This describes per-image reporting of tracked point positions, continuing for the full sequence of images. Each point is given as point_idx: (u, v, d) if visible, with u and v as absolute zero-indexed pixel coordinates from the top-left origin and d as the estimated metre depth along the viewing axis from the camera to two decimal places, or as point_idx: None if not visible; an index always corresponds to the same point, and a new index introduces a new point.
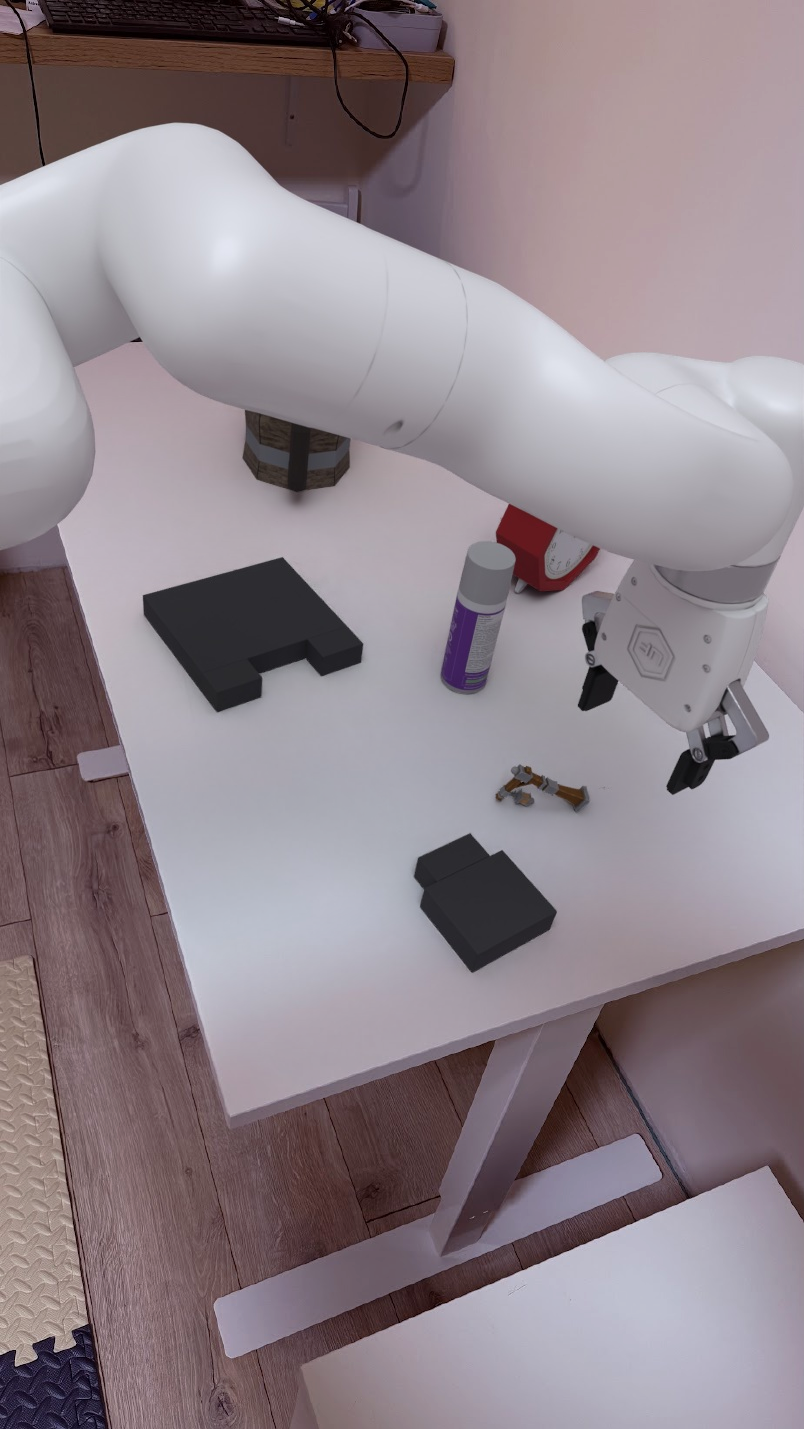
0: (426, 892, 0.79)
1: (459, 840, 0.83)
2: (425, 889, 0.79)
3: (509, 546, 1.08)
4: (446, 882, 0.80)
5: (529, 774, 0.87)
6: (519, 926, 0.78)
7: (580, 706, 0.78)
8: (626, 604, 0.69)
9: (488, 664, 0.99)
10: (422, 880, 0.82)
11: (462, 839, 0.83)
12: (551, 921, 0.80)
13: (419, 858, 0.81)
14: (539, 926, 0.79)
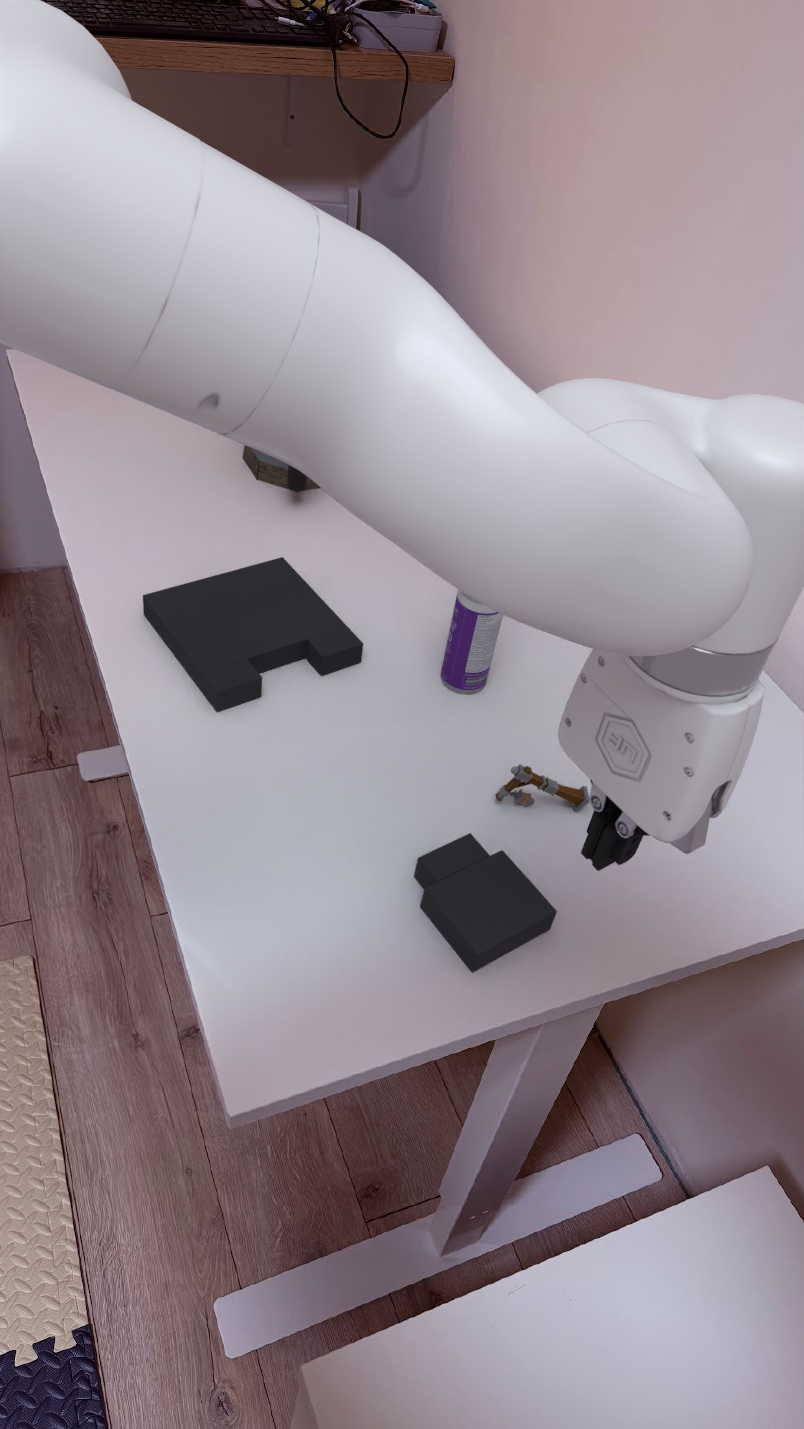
0: (426, 892, 0.79)
1: (459, 840, 0.83)
2: (425, 889, 0.79)
3: None
4: (446, 882, 0.80)
5: (529, 774, 0.87)
6: (519, 926, 0.78)
7: (584, 854, 0.65)
8: (593, 687, 0.57)
9: (488, 664, 0.99)
10: (422, 880, 0.82)
11: (462, 839, 0.83)
12: (551, 921, 0.80)
13: (419, 858, 0.81)
14: (539, 926, 0.79)
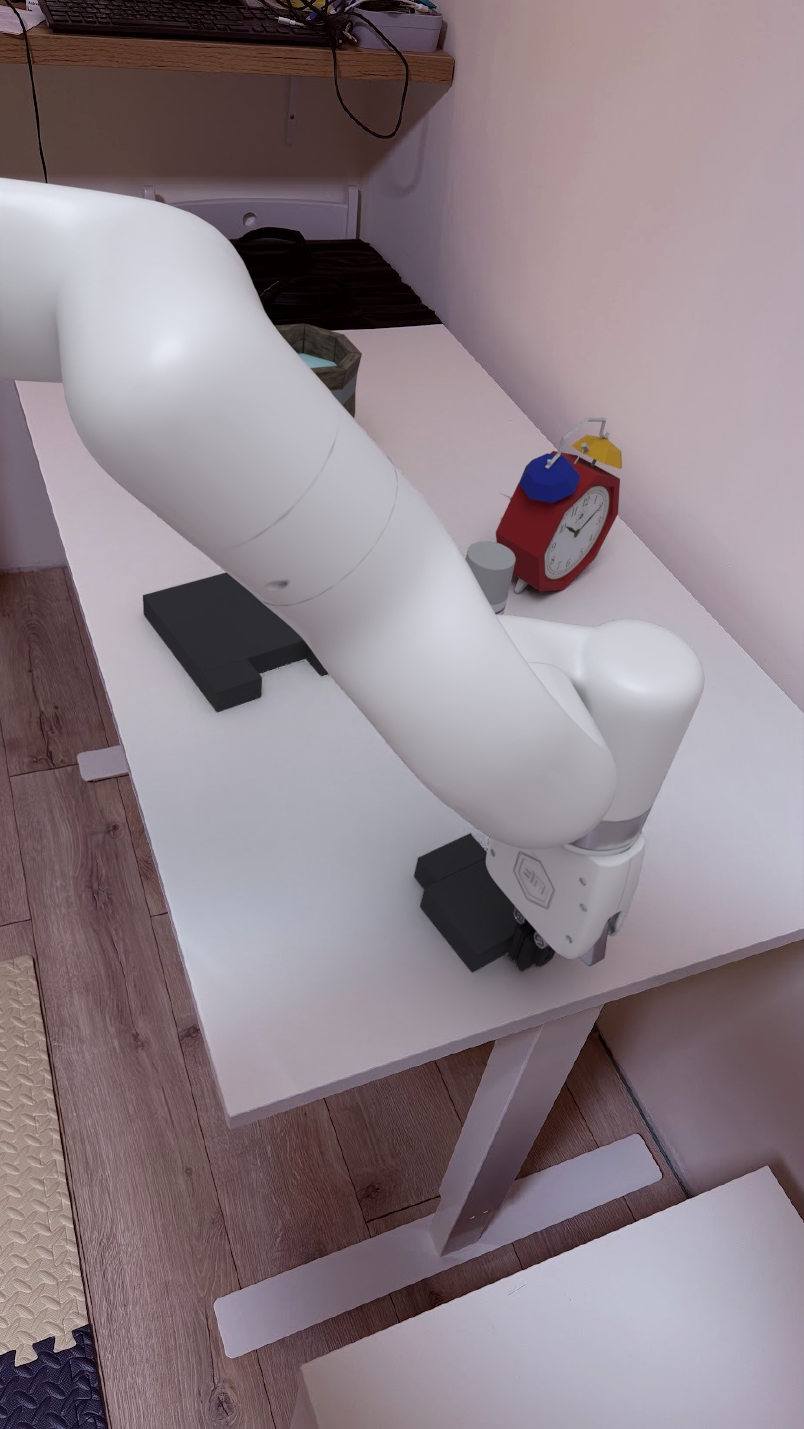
0: (426, 892, 0.79)
1: (459, 840, 0.83)
2: (425, 889, 0.79)
3: (509, 546, 1.08)
4: (446, 882, 0.80)
5: None
6: None
7: (510, 956, 0.76)
8: None
9: None
10: (422, 880, 0.82)
11: (462, 839, 0.83)
12: None
13: (419, 858, 0.81)
14: None
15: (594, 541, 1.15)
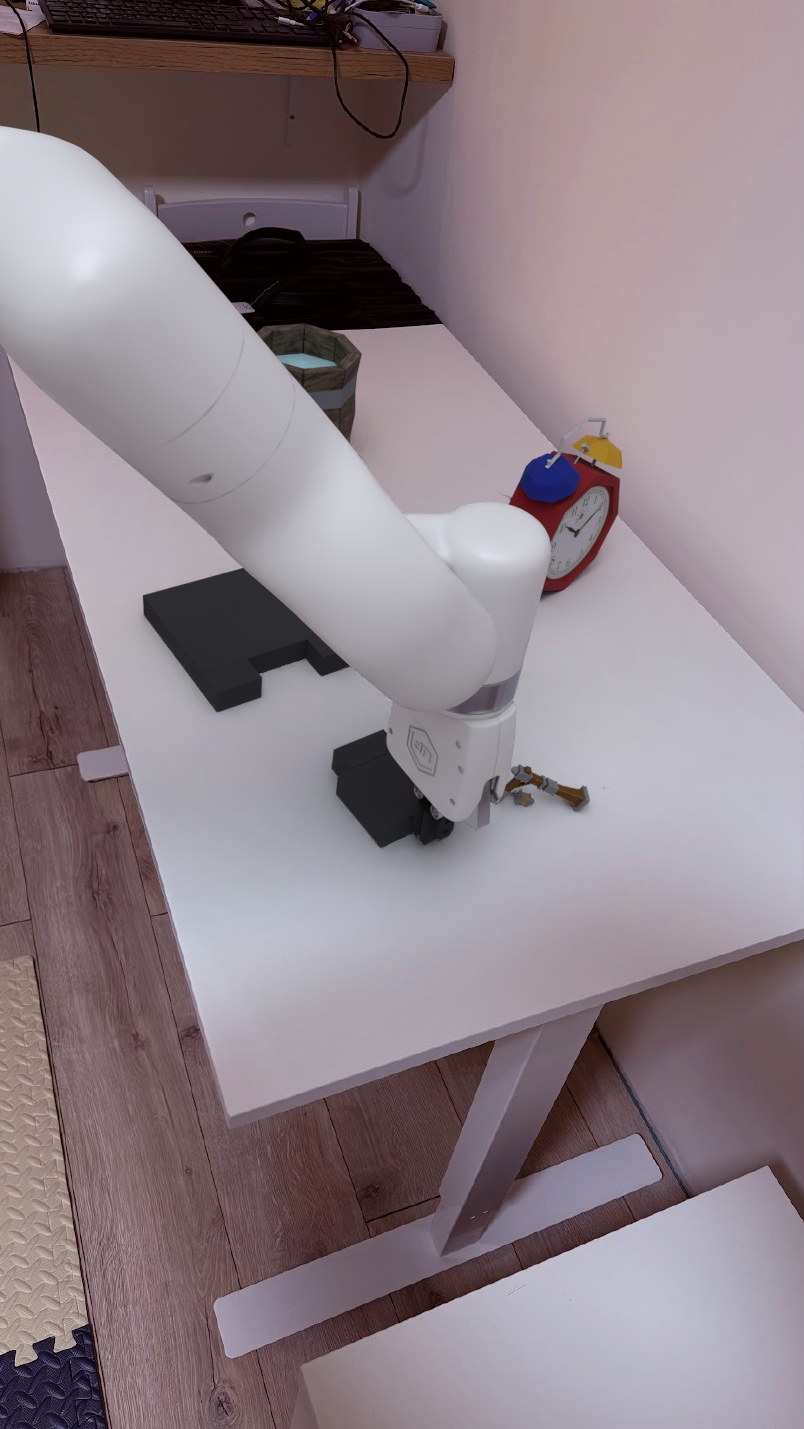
0: (339, 778, 0.87)
1: (373, 735, 0.91)
2: (339, 775, 0.87)
3: None
4: (358, 769, 0.87)
5: (529, 774, 0.87)
6: None
7: (414, 832, 0.84)
8: (402, 706, 0.76)
9: None
10: (338, 770, 0.89)
11: (375, 734, 0.91)
12: None
13: (335, 749, 0.89)
14: None
15: (594, 541, 1.15)
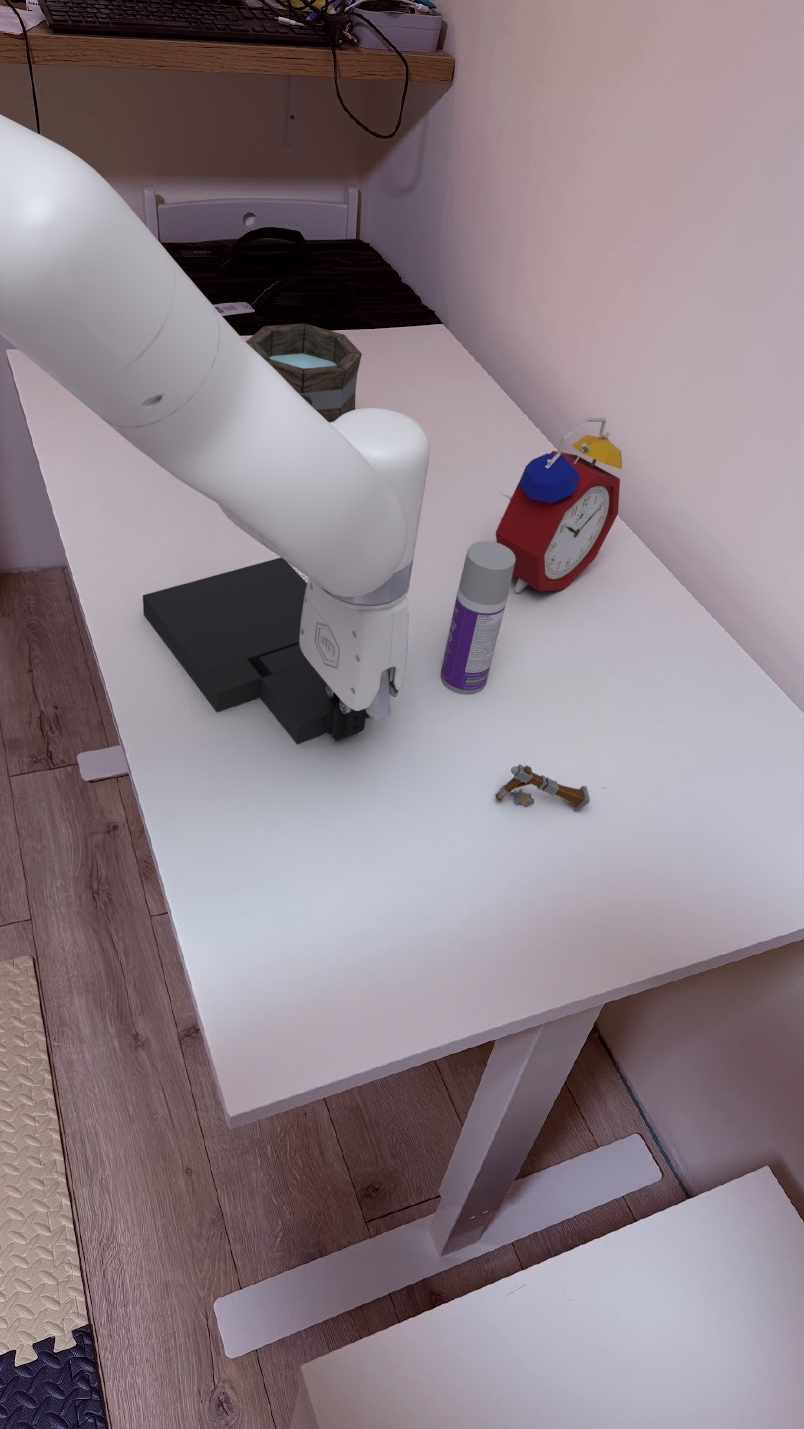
0: (262, 681, 0.94)
1: (297, 646, 0.98)
2: (261, 679, 0.94)
3: (509, 546, 1.08)
4: (280, 675, 0.95)
5: (529, 774, 0.87)
6: None
7: (327, 729, 0.92)
8: (309, 605, 0.84)
9: (488, 664, 0.99)
10: (264, 677, 0.97)
11: None
12: None
13: (260, 657, 0.96)
14: None
15: (594, 541, 1.15)
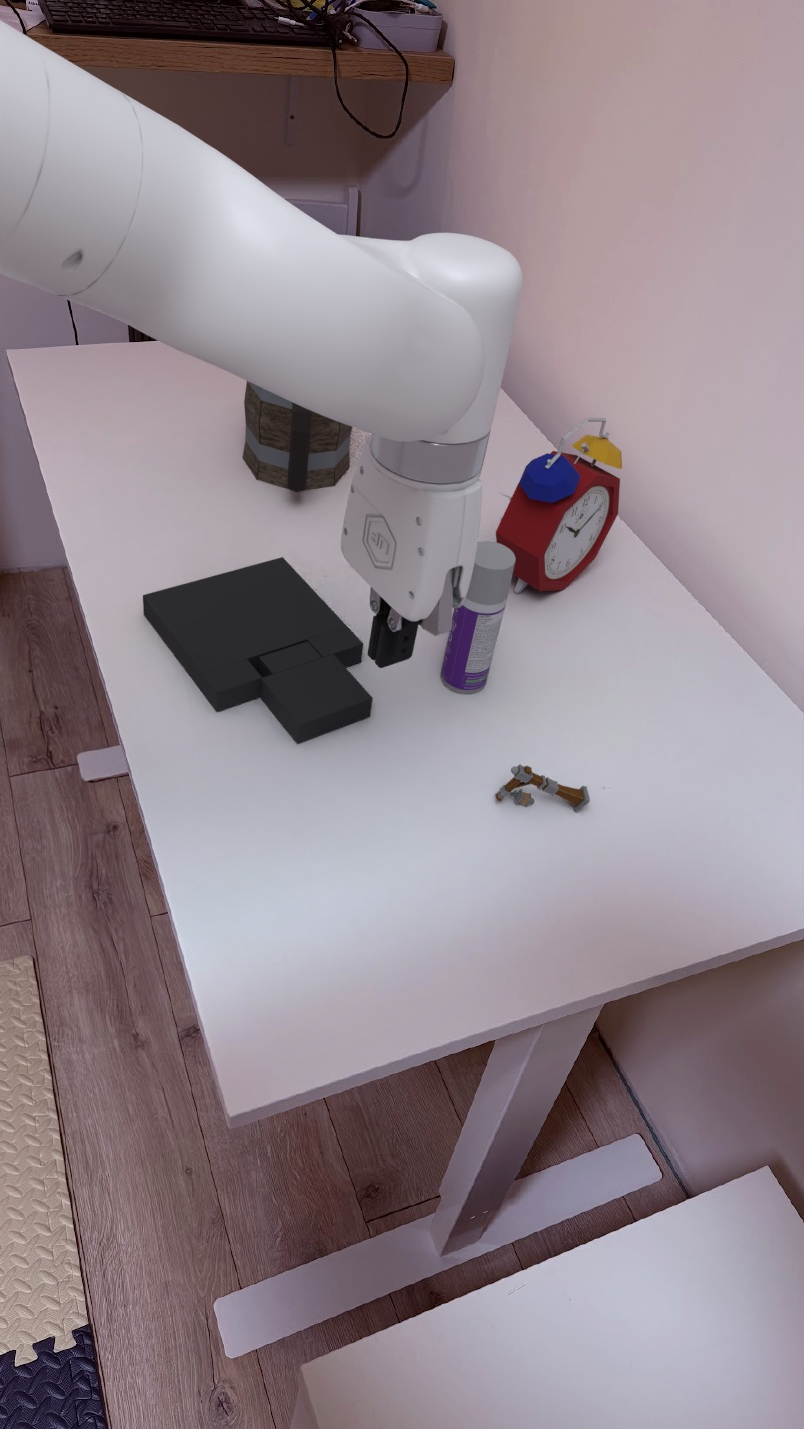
0: (262, 681, 0.94)
1: (297, 646, 0.98)
2: (261, 679, 0.94)
3: (509, 546, 1.08)
4: (280, 674, 0.95)
5: (529, 774, 0.87)
6: (338, 707, 0.93)
7: (369, 654, 0.78)
8: (358, 495, 0.70)
9: (488, 664, 0.99)
10: (264, 677, 0.97)
11: (300, 645, 0.98)
12: (369, 707, 0.95)
13: (260, 657, 0.96)
14: (357, 710, 0.94)
15: (594, 541, 1.15)
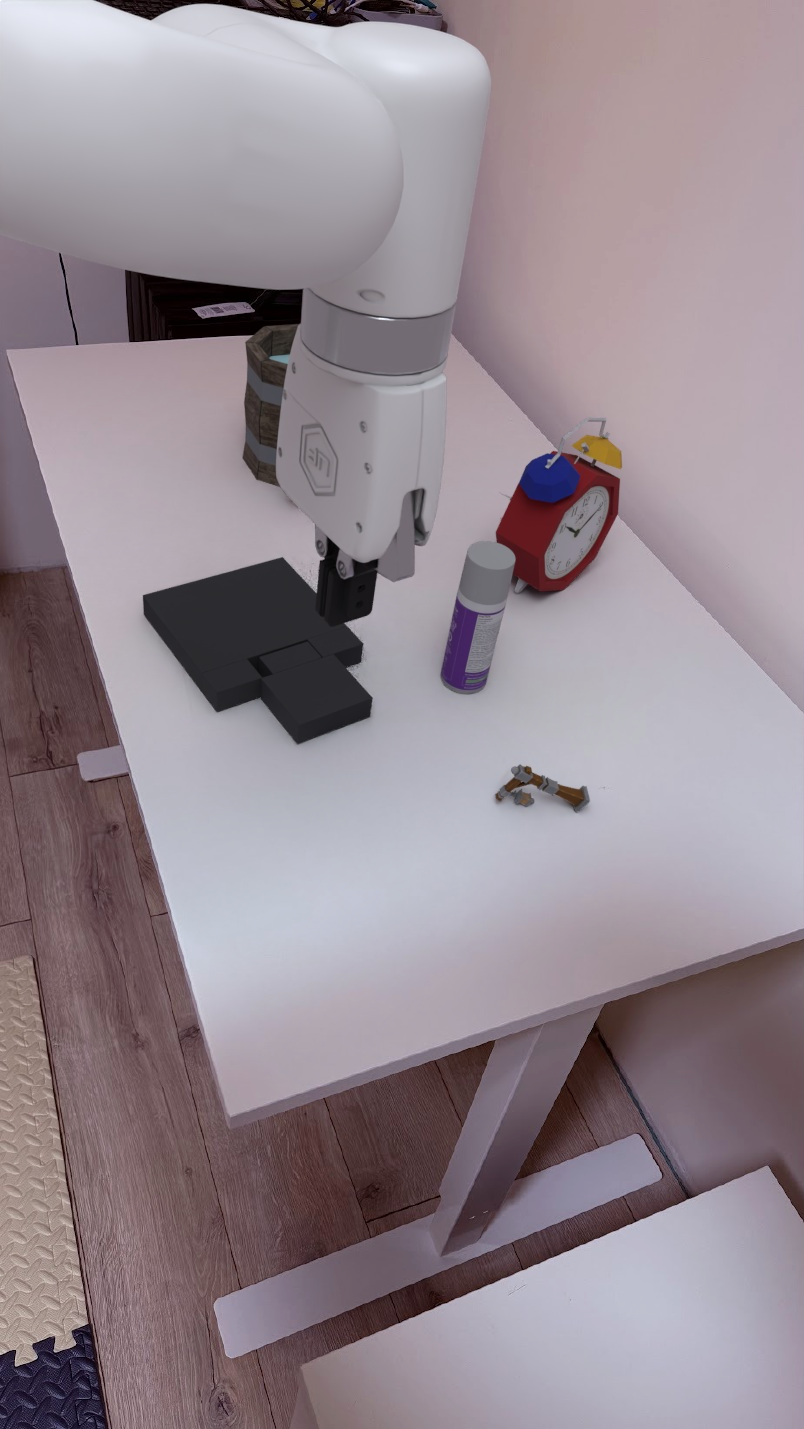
0: (262, 681, 0.94)
1: (297, 646, 0.98)
2: (261, 679, 0.94)
3: (509, 546, 1.08)
4: (280, 674, 0.95)
5: (529, 774, 0.87)
6: (338, 707, 0.93)
7: (317, 610, 0.62)
8: (291, 401, 0.55)
9: (488, 664, 0.99)
10: (264, 677, 0.97)
11: (300, 645, 0.98)
12: (369, 707, 0.95)
13: (260, 657, 0.96)
14: (357, 710, 0.94)
15: (594, 541, 1.15)
